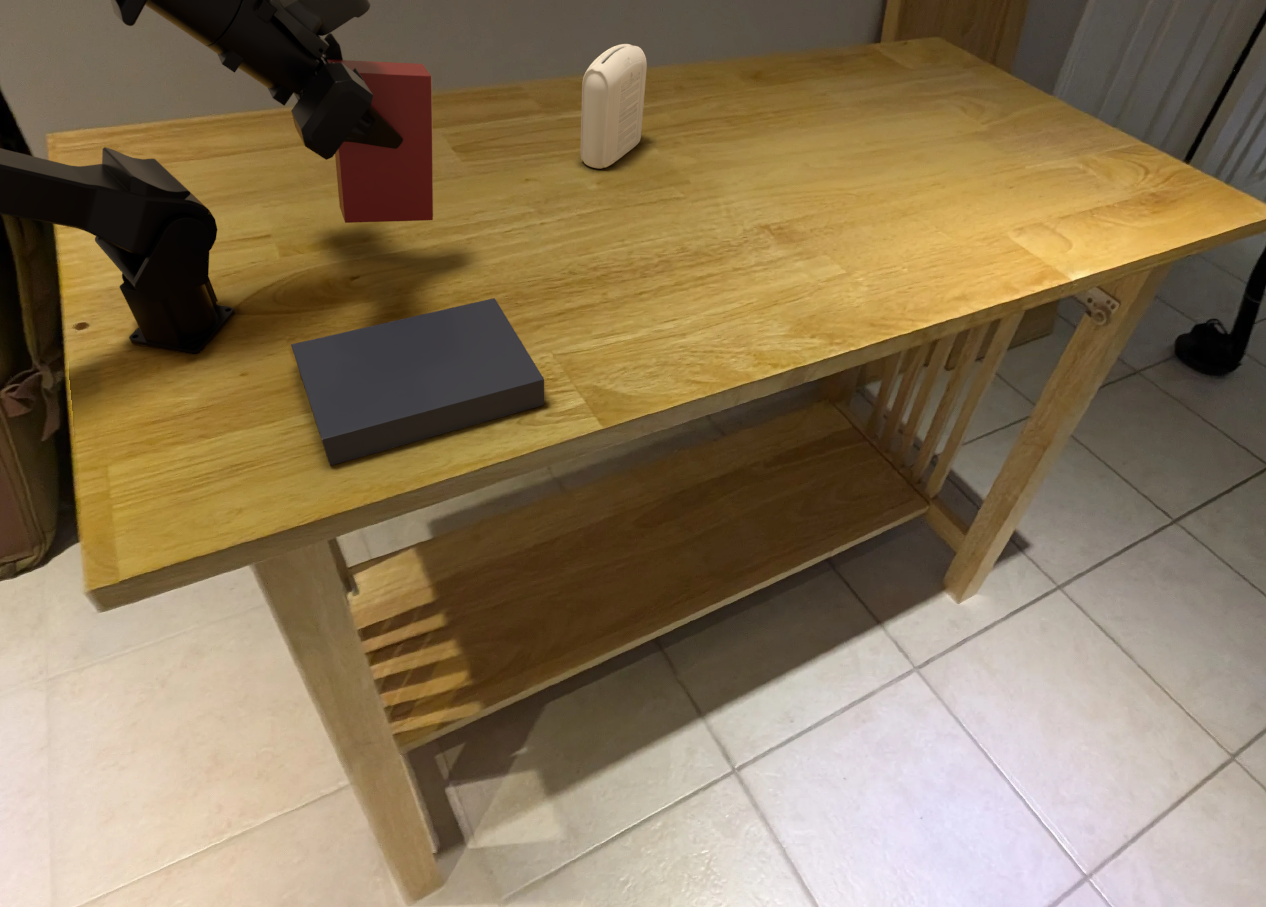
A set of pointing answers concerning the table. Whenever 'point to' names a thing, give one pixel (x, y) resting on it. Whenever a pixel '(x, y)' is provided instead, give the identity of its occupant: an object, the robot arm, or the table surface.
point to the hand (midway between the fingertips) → (393, 133)
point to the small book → (390, 149)
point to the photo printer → (612, 105)
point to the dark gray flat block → (416, 378)
